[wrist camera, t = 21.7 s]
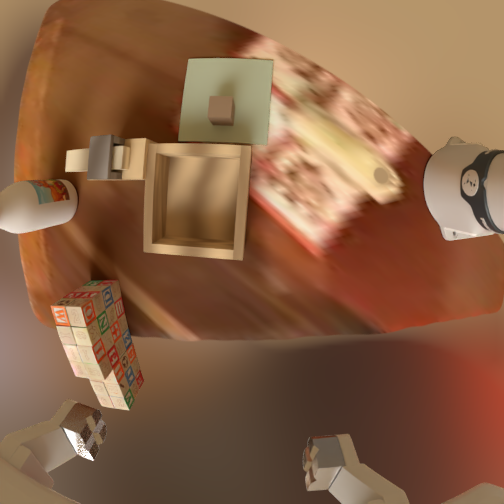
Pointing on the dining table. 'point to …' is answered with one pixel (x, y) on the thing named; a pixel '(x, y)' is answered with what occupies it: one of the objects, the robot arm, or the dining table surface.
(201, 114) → the lid
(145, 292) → the dining table surface
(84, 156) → the wooden block
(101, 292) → the stack of blocks
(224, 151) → the wooden cabinet
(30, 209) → the milk bottle
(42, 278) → the dining table surface
